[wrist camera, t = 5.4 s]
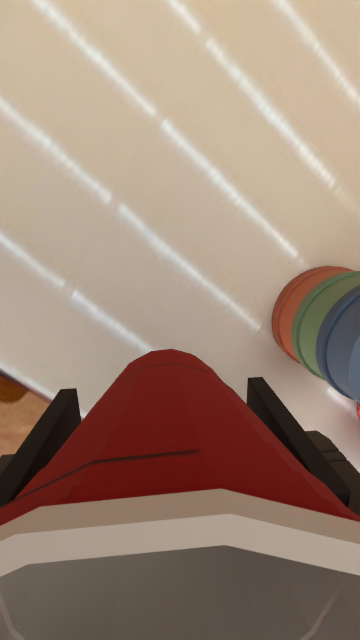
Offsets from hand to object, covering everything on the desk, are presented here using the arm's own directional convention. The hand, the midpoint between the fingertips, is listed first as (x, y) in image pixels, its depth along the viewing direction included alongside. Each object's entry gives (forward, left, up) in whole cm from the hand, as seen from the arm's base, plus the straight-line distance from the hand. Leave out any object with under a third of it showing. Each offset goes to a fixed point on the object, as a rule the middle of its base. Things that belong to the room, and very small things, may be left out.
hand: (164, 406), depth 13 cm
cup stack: (0, +18, -16) cm, 24 cm away
